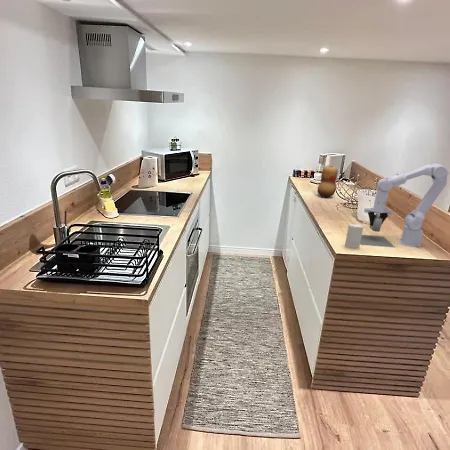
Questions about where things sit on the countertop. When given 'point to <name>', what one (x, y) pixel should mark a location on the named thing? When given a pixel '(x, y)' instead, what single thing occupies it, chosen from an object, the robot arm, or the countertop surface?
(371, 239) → the mat
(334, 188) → the butternut squash
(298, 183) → the countertop surface
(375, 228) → the connector
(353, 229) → the skincare box
